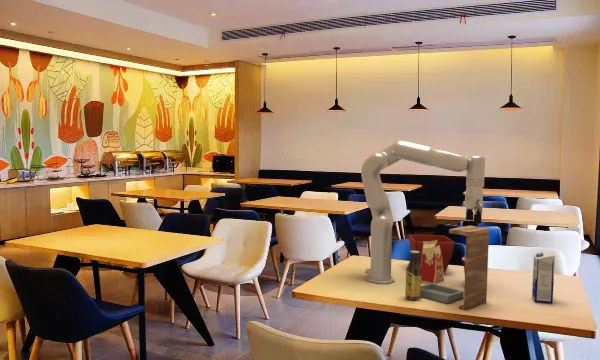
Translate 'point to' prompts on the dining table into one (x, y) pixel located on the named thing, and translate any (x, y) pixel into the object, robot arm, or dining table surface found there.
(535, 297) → the milk carton
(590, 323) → the dining table surface
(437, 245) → the milk carton
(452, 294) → the tray
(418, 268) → the sauce bottle
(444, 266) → the plant pot
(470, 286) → the wooden c-shaped stand
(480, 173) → the robot arm
